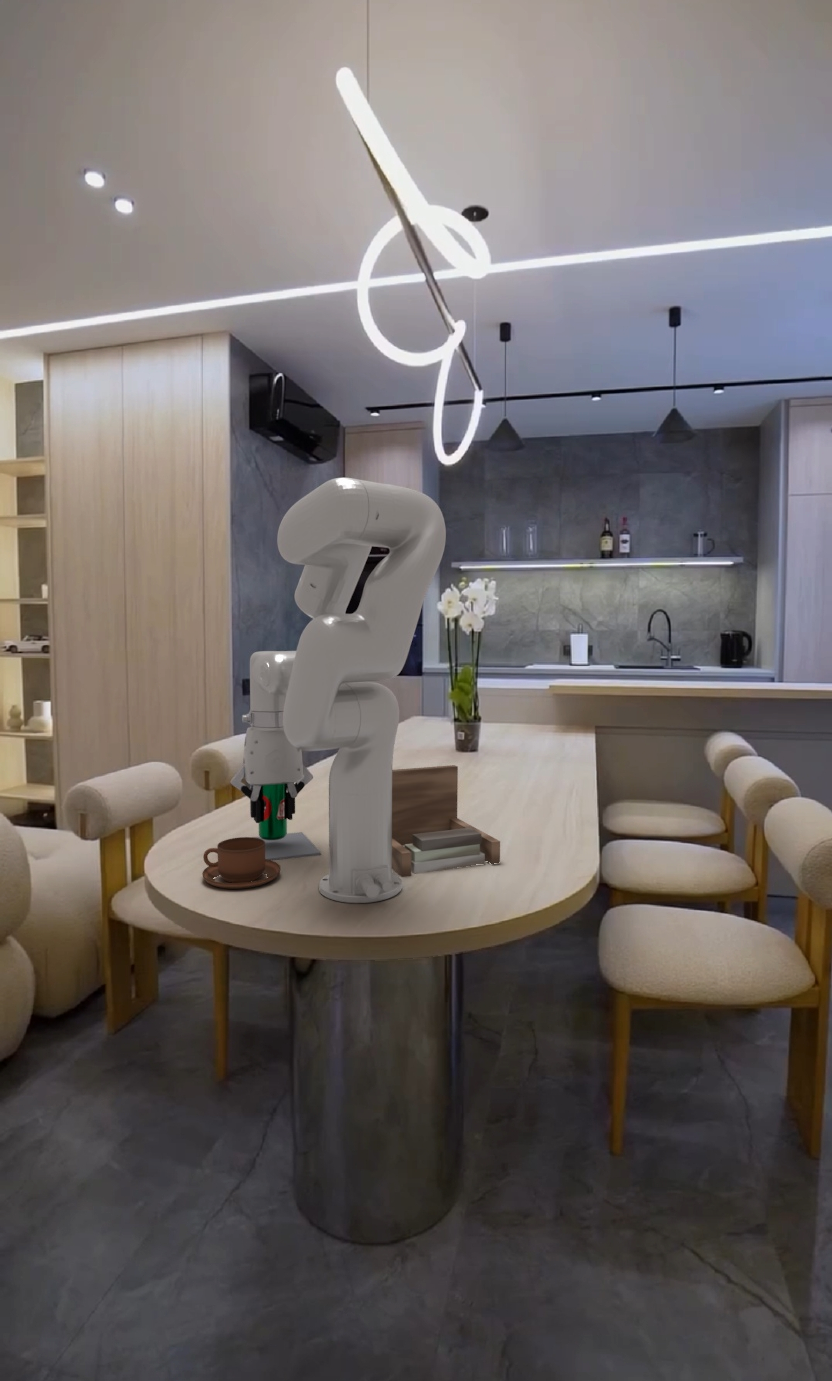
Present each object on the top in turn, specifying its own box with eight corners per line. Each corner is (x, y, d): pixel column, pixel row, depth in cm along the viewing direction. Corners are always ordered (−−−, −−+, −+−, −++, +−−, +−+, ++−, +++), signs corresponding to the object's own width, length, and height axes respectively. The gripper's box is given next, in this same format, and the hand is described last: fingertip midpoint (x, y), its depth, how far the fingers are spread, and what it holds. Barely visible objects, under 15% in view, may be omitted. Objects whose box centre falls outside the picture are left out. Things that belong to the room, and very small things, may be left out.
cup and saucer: (201, 898, 105) (200, 858, 104) (203, 872, 116) (203, 835, 116) (283, 891, 108) (282, 852, 107) (278, 866, 119) (277, 830, 119)
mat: (321, 855, 125) (321, 852, 125) (240, 865, 119) (240, 861, 119) (301, 834, 138) (301, 831, 138) (228, 842, 132) (228, 839, 132)
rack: (499, 864, 121) (501, 783, 120) (402, 877, 114) (402, 792, 113) (453, 836, 137) (454, 765, 136) (365, 846, 130) (365, 771, 129)
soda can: (283, 841, 126) (283, 774, 125) (255, 840, 126) (254, 774, 125) (289, 833, 131) (289, 769, 130) (262, 832, 131) (261, 769, 130)
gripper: (226, 724, 120) (227, 829, 121) (323, 720, 127) (324, 820, 128) (220, 719, 127) (221, 819, 128) (313, 715, 133) (313, 810, 135)
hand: (273, 818), depth 128 cm, fingers closed on soda can, 5 cm apart
